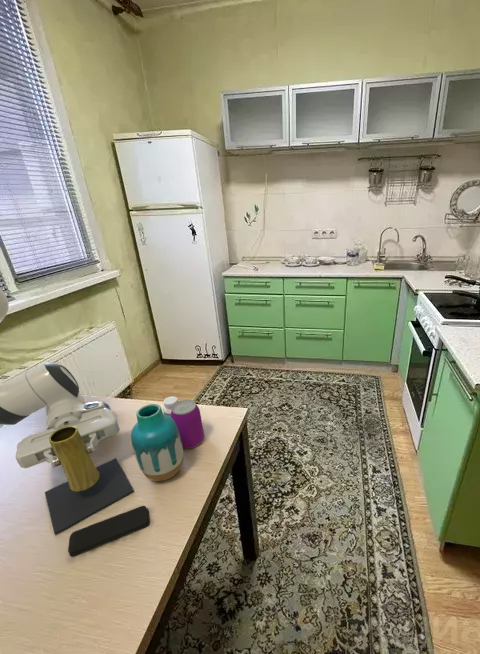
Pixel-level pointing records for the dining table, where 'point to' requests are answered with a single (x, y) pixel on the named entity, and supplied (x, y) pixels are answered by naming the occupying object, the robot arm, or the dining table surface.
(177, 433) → the vase
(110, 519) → the remote control
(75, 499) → the mat
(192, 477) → the dining table surface
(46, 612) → the dining table surface
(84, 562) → the dining table surface
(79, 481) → the vase
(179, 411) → the beverage can
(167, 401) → the pill bottle
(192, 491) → the dining table surface
